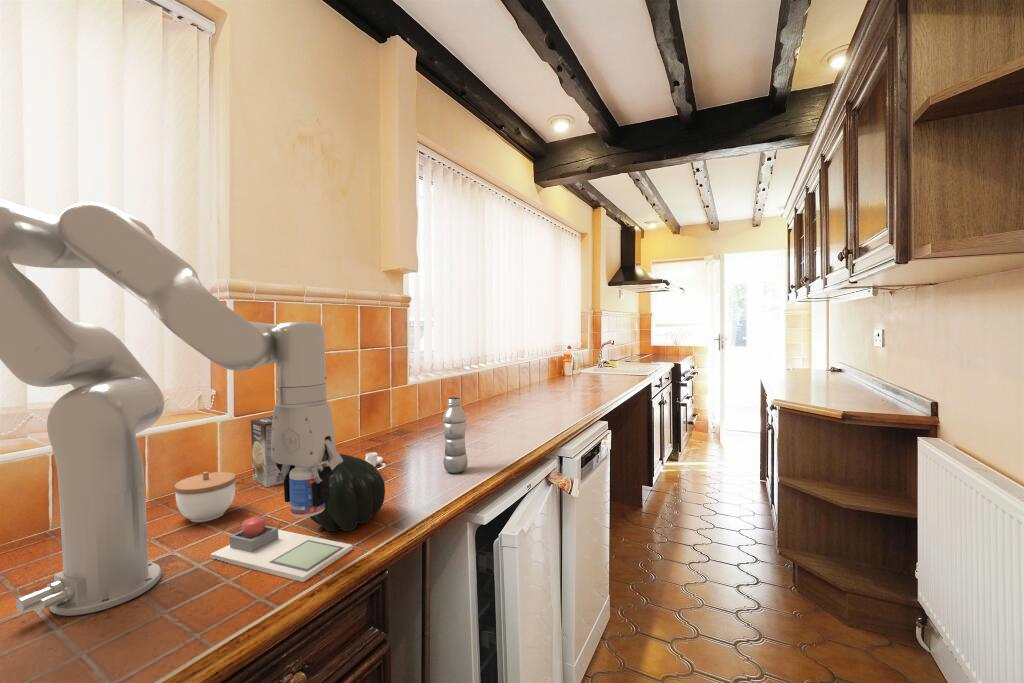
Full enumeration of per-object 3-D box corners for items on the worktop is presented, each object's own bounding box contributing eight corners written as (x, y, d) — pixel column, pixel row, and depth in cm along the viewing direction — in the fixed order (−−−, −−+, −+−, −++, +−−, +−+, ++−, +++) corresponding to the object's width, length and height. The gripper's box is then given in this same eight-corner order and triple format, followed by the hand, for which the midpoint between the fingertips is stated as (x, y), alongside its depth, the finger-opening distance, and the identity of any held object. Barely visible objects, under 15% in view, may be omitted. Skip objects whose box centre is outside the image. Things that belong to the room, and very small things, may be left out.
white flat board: (303, 582, 70) (302, 564, 70) (210, 558, 78) (209, 542, 78) (352, 549, 80) (352, 533, 80) (266, 531, 88) (265, 517, 88)
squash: (408, 494, 92) (373, 433, 97) (344, 524, 80) (308, 453, 84) (376, 526, 98) (345, 468, 103) (313, 559, 86) (281, 491, 91)
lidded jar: (182, 532, 88) (180, 484, 88) (170, 517, 95) (168, 473, 95) (243, 515, 96) (242, 471, 96) (228, 502, 103) (226, 461, 103)
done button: (252, 538, 79) (252, 526, 79) (237, 534, 81) (237, 523, 80) (270, 529, 83) (269, 518, 82) (255, 526, 84) (255, 515, 84)
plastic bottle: (472, 470, 124) (471, 397, 123) (457, 477, 118) (455, 400, 117) (454, 466, 127) (453, 395, 126) (438, 473, 121) (436, 399, 121)
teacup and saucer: (376, 461, 134) (376, 447, 134) (394, 466, 130) (393, 452, 130) (350, 469, 127) (350, 455, 127) (368, 474, 123) (367, 459, 122)
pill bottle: (312, 519, 74) (309, 460, 73) (283, 517, 75) (280, 459, 74) (332, 506, 79) (329, 451, 79) (304, 504, 80) (302, 450, 80)
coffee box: (251, 480, 118) (249, 419, 117) (277, 474, 123) (275, 415, 122) (266, 488, 112) (263, 423, 111) (292, 481, 117) (290, 419, 116)
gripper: (245, 397, 76) (251, 503, 76) (325, 401, 69) (330, 517, 70) (283, 390, 83) (287, 488, 83) (358, 393, 76) (363, 499, 77)
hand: (307, 500), depth 77 cm, fingers closed on pill bottle, 5 cm apart
